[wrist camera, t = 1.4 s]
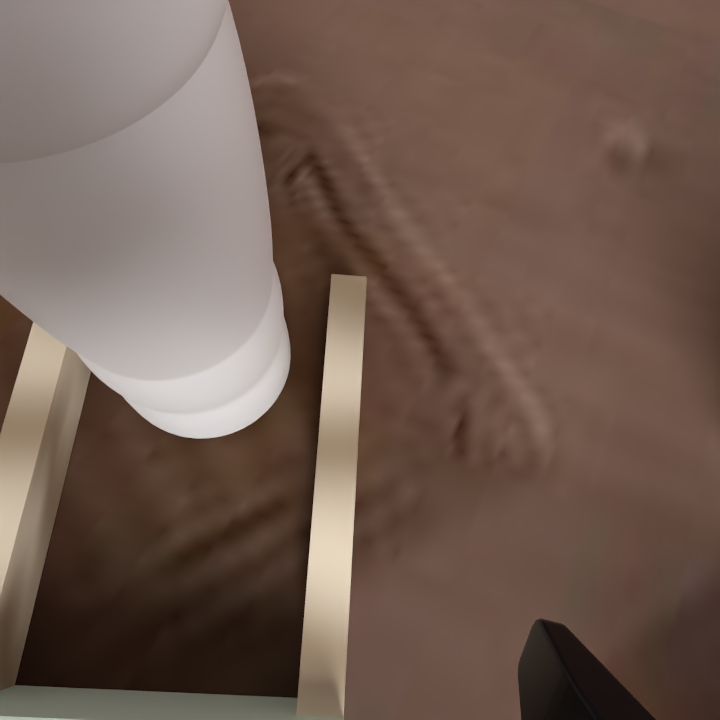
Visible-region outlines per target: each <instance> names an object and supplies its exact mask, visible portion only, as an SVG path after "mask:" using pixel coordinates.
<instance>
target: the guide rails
mask: <svg viewBox="0 0 720 720" xmlns="http://www.w3.org/2000/svg"><path fill="white" fill-rule="evenodd" d="M366 284H367V277H364V276H352V275H339V274H331V287H330V299H329V312H328V324H327V337H326V349H325V362H324V374H323V387H322V399H321V412H320V424H319V437H318V449H317V462H316V474H315V487H314V499H313V512H312V524H311V536H310V549H309V561H308V574H307V586H306V599H305V611H304V624H303V636H302V649H301V661H300V674H299V686H298V699H297V711H296V715H298V716H321V717H343V715H344V696H345V677H346V658H347V640H348V621H349V602H350V584H351V565H352V546H353V527H354V509H355V490H356V471H357V453H358V434H359V415H360V396H361V378H362V359H363V340H364V322H365V303H366ZM90 374H91V370H90V369H89V368H88V367H87V366H86V365H85V364H84V362H83V361H82V360H81V359H80V357H79V356H78V354H77V353H76V352H75V351H73V350H72V349H70V348H69V347H67V346H66V345H64V344H63V343H61V342H60V341H58V340H57V339H56V338H54V337H53V336H52V335H50V334H49V333H47V332H46V331H45V330H43V329H42V328H41V327H39V326H38V325H37V324H36V323H34V322H33V325H32V328H31V331H30V335H29V338H28V342H27V345H26V348H25V352H24V355H23V359H22V362H21V365H20V369H19V372H18V376H17V379H16V382H15V386H14V389H13V393H12V396H11V399H10V403H9V406H8V410H7V413H6V416H5V420H4V423H3V427H2V430H1V434H0V691H1V690H3V689H6V688H9V687H11V686H14V685H15V682H16V678H17V674H18V670H19V666H20V662H21V658H22V654H23V649H24V645H25V641H26V637H27V633H28V629H29V625H30V621H31V617H32V612H33V608H34V604H35V600H36V596H37V592H38V588H39V584H40V580H41V575H42V571H43V567H44V563H45V559H46V555H47V551H48V547H49V543H50V538H51V534H52V530H53V526H54V522H55V518H56V514H57V510H58V506H59V501H60V497H61V493H62V489H63V485H64V481H65V477H66V473H67V469H68V464H69V460H70V456H71V452H72V448H73V444H74V440H75V436H76V432H77V427H78V423H79V419H80V415H81V411H82V407H83V403H84V399H85V395H86V390H87V386H88V382H89V378H90Z"/></svg>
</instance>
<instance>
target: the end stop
mask: <svg viewBox="0 0 720 720" xmlns="http://www.w3.org/2000/svg"><path fill="white" fill-rule="evenodd" d="M297 699H298V698H289V697H267V696H244V695H222V694H200V693H177V692H155V691H133V690H111V689H88V688H66V687H44V686H21V685H14V686H11V687H9V688H6V689H3V690H1V691H0V720H344V718H343V717H321V716H298V715H296V711H297Z"/></svg>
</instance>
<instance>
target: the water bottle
mask: <svg viewBox="0 0 720 720" xmlns="http://www.w3.org/2000/svg"><path fill="white" fill-rule="evenodd" d="M0 295H1V296H2V297H4V298H5V299H6V300H7V301H8V302H10V303H11V304H12V305H13V306H14V307H16V308H17V309H18V310H19V311H21V312H22V313H23V314H24V315H26V316H27V317H28V318H29V319H31V320H32V321H33V322H34V323H36V324H37V325H38V326H39V327H41V328H42V329H43V330H45V331H46V332H47V333H49V334H50V335H52V336H53V337H54V338H56V339H57V340H58V341H60V342H61V343H63V344H64V345H66V346H67V347H69V348H70V349H72V350H73V351H75V352H76V353H77V354H78V356H79V357H80V359H81V360H82V361H83V362H84V364H85V365H86V366H87V367H88V368H89V369H90V370H91V371H92V372H93V373H94V374H95V375H96V376H97V377H98V378H99V379H100V380H101V381H102V382H104V383H105V384H106V385H107V386H109V387H110V388H111V389H113V390H114V391H116V392H117V393H119V394H120V395H122V396H123V397H124V398H125V400H126V401H127V402H128V403H129V404H130V405H131V406H132V407H133V408H134V409H135V410H136V411H137V412H138V413H139V414H140V415H141V416H143V417H144V418H145V419H146V420H148V421H149V422H150V423H152V424H153V425H155V426H157V427H158V428H160V429H162V430H164V431H166V432H169V433H171V434H175V435H178V436H182V437H188V438H214V437H220V436H224V435H228V434H231V433H234V432H236V431H239V430H241V429H243V428H245V427H247V426H248V425H250V424H252V423H253V422H255V421H256V420H257V419H259V418H260V417H261V416H262V415H263V414H264V413H265V412H266V411H267V410H268V409H269V408H270V407H271V406H272V405H273V403H274V402H275V401H276V399H277V398H278V396H279V395H280V393H281V391H282V389H283V387H284V385H285V382H286V379H287V376H288V373H289V367H290V359H291V350H290V340H289V334H288V329H287V325H286V322H285V318H284V315H283V296H282V290H281V284H280V280H279V276H278V273H277V270H276V267H275V264H274V262H273V247H272V230H271V219H270V210H269V201H268V193H267V186H266V178H265V171H264V165H263V158H262V152H261V145H260V139H259V133H258V128H257V122H256V116H255V111H254V105H253V100H252V95H251V91H250V86H249V81H248V76H247V72H246V67H245V63H244V59H243V54H242V50H241V46H240V42H239V38H238V34H237V30H236V27H235V23H234V19H233V15H232V12H231V8H230V4H229V1H228V0H0Z"/></svg>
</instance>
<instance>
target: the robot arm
mask: <svg viewBox="0 0 720 720" xmlns="http://www.w3.org/2000/svg"><path fill="white" fill-rule="evenodd" d="M518 683H519V696H520V708H521V720H656V719H655V718H654V717H653V716H652V715H651V714H650V713H649V712H648V711H647V710H646V709H645V708H644V707H643V706H642V705H641V704H640V703H639V702H638V701H637V700H636V699H635V698H634V697H633V696H632V695H631V693H630V692H629V691H628V690H627V689H626V688H625V687H624V686H623V685H622V684H621V683H620V682H619V681H618V680H617V679H616V678H615V677H614V676H613V675H612V674H611V673H610V672H609V671H608V670H607V669H606V668H605V666H604V665H603V664H602V663H601V662H600V661H599V660H598V659H597V658H596V657H595V656H594V655H593V654H592V653H591V652H590V651H589V650H588V649H587V648H586V647H585V646H584V645H583V644H582V643H581V642H580V641H579V639H578V638H577V637H576V636H575V635H574V634H573V633H572V632H571V631H570V630H569V629H568V628H567V627H566V626H565V625H563V624H561V623H557V622H553V621H549V620H545V619H538V620H536V621H535V622H534V624H533V626H532V628H531V631H530V634H529V636H528V639H527V641H526V644H525V647H524V649H523V652H522V655H521V657H520V660H519V666H518Z"/></svg>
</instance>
